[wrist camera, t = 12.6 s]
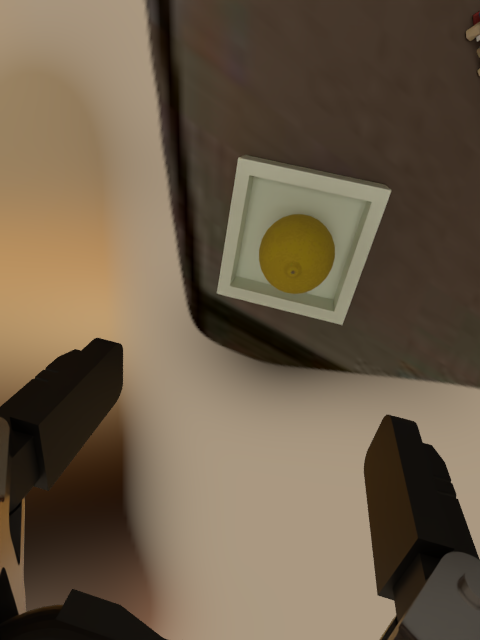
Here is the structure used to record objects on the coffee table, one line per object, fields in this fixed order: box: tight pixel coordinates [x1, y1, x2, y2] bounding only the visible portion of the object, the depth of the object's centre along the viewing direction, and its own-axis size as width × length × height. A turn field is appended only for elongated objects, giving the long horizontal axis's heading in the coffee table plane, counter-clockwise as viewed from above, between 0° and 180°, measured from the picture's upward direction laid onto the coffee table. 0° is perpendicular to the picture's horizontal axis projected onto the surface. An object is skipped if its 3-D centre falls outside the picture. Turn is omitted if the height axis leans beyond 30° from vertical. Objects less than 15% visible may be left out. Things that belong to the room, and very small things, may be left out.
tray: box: [217, 155, 392, 325], centre depth 30 cm, size 11×11×3 cm
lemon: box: [259, 214, 335, 294], centre depth 27 cm, size 6×6×8 cm
